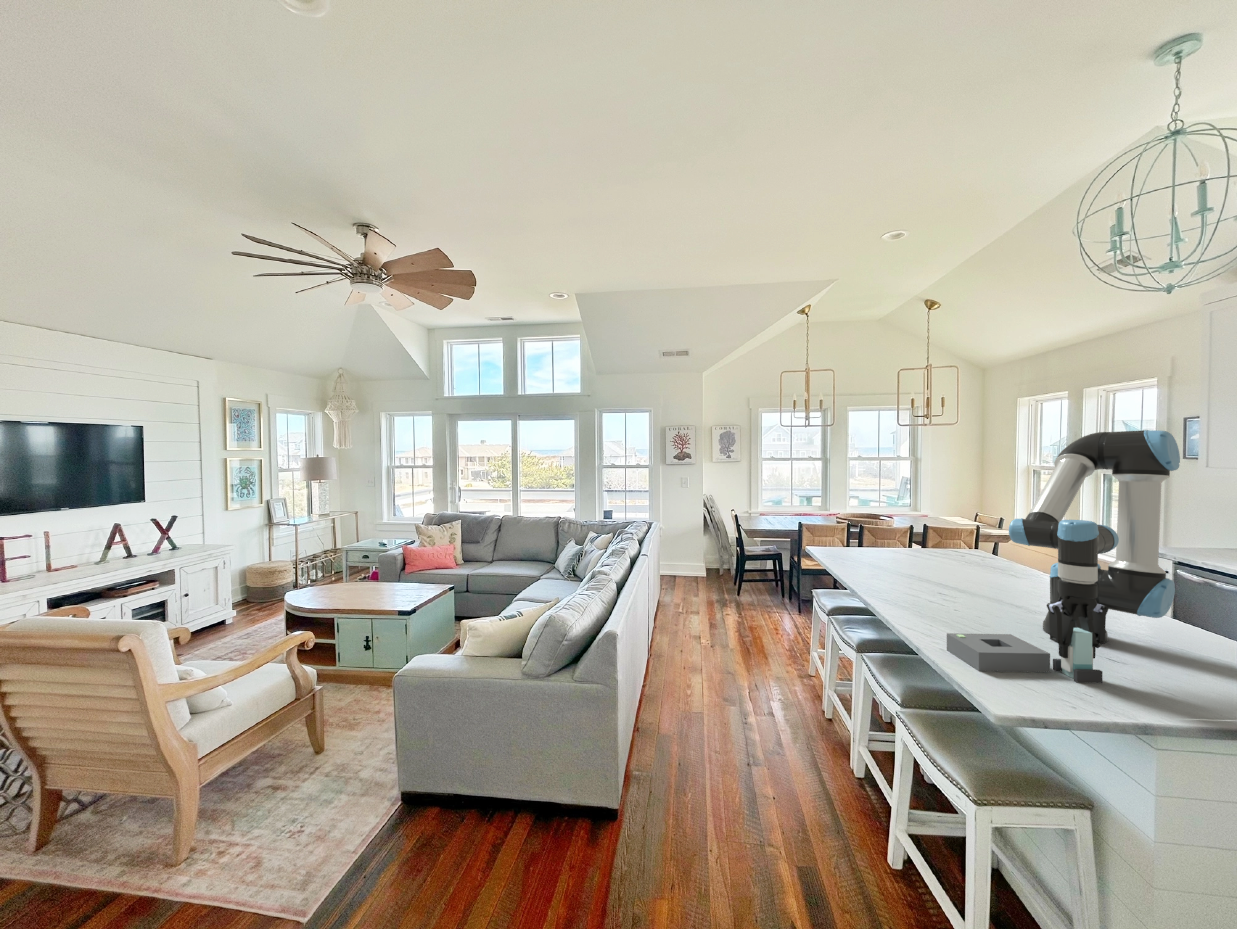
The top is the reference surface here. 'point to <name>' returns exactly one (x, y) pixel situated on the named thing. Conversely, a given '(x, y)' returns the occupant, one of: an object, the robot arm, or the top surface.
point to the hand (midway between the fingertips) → (1076, 669)
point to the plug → (1080, 651)
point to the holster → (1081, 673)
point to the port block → (998, 653)
